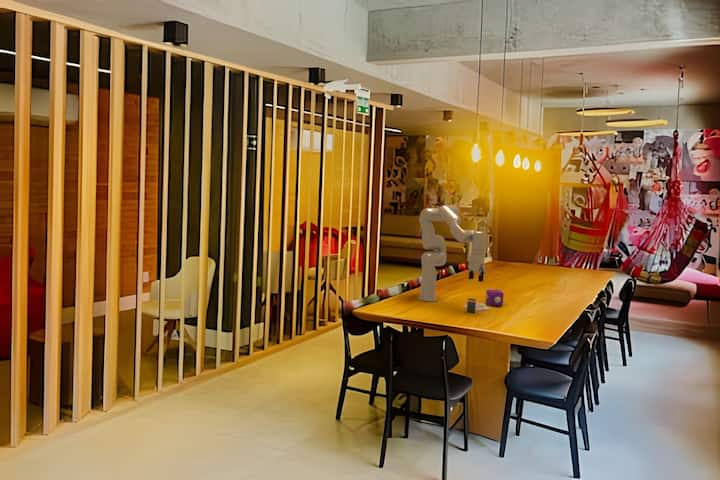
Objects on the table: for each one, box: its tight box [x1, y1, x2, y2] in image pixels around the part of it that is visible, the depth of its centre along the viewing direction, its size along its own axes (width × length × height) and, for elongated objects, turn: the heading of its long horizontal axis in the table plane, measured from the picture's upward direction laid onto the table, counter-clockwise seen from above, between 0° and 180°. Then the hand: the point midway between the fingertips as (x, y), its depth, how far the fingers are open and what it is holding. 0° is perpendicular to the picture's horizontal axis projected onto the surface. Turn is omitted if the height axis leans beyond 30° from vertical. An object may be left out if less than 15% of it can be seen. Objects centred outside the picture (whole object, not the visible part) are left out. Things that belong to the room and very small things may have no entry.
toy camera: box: [485, 288, 504, 307], centre depth 404 cm, size 11×14×10 cm
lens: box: [466, 298, 477, 314], centre depth 377 cm, size 5×5×8 cm
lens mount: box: [463, 302, 492, 312], centre depth 390 cm, size 12×12×3 cm
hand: (475, 280), depth 376 cm, fingers open, 9 cm apart
